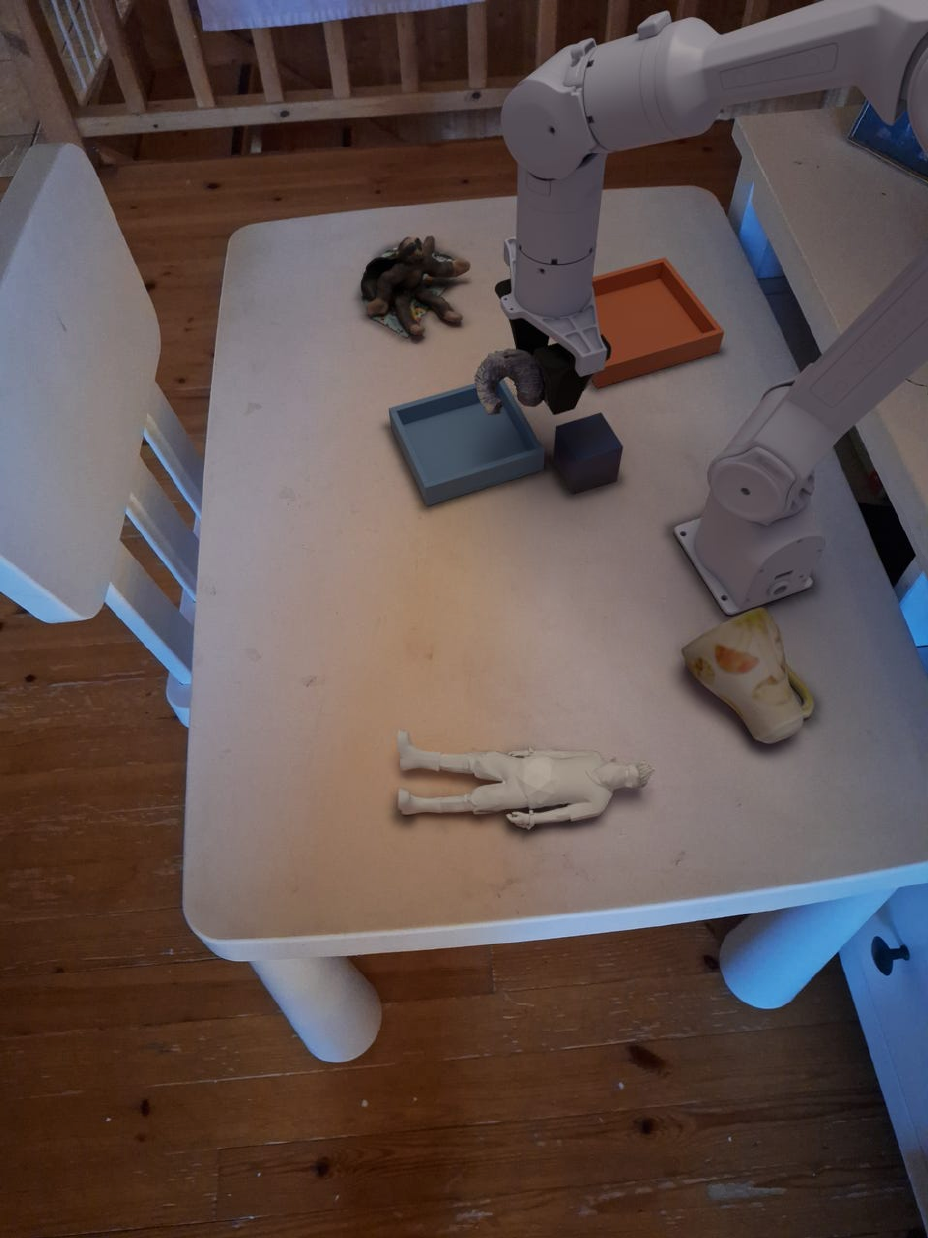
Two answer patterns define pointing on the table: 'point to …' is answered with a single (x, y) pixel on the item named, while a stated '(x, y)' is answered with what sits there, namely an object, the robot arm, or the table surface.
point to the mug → (751, 674)
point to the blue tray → (464, 442)
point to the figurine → (524, 782)
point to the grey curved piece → (517, 369)
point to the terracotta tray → (650, 321)
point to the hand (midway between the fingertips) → (546, 383)
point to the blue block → (587, 453)
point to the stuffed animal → (410, 285)
